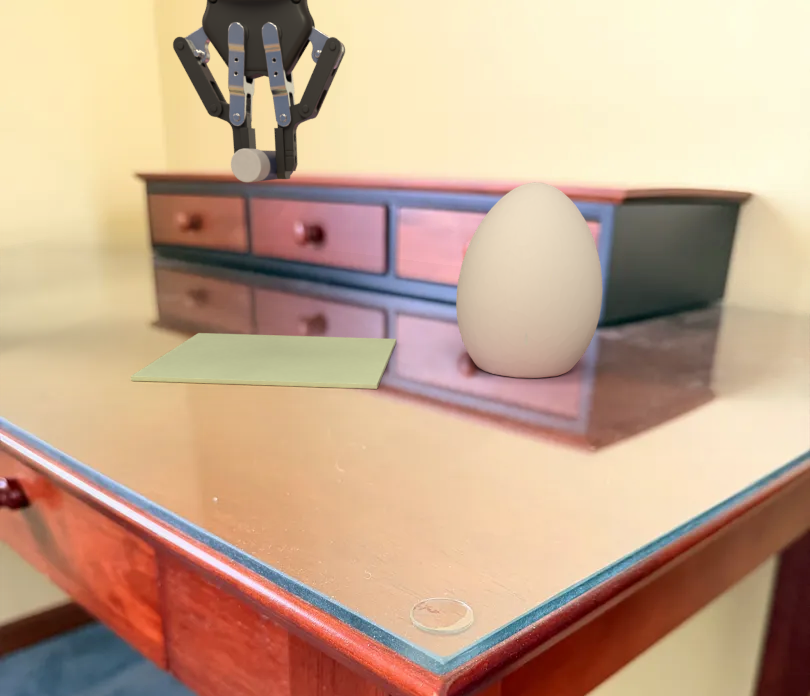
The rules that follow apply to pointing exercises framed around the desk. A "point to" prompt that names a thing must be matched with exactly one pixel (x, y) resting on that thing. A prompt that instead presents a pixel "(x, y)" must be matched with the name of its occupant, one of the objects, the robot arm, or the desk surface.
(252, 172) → the marker
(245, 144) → the robot arm
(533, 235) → the decorative egg
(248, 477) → the desk surface
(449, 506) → the desk surface
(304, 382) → the desk mat
